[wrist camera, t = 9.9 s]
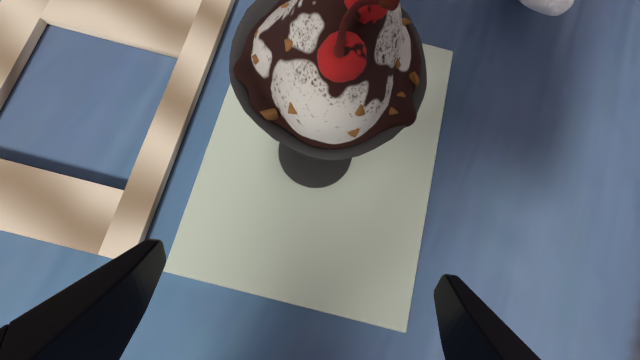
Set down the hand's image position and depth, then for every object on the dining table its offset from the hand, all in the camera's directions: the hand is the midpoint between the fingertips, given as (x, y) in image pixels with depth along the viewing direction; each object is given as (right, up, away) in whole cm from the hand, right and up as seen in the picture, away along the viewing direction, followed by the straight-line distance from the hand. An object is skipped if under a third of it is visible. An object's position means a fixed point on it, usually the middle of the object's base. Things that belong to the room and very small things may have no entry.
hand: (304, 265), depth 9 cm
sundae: (0, +5, +10) cm, 11 cm away
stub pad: (+1, +5, +11) cm, 12 cm away
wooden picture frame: (-16, +9, +11) cm, 21 cm away
